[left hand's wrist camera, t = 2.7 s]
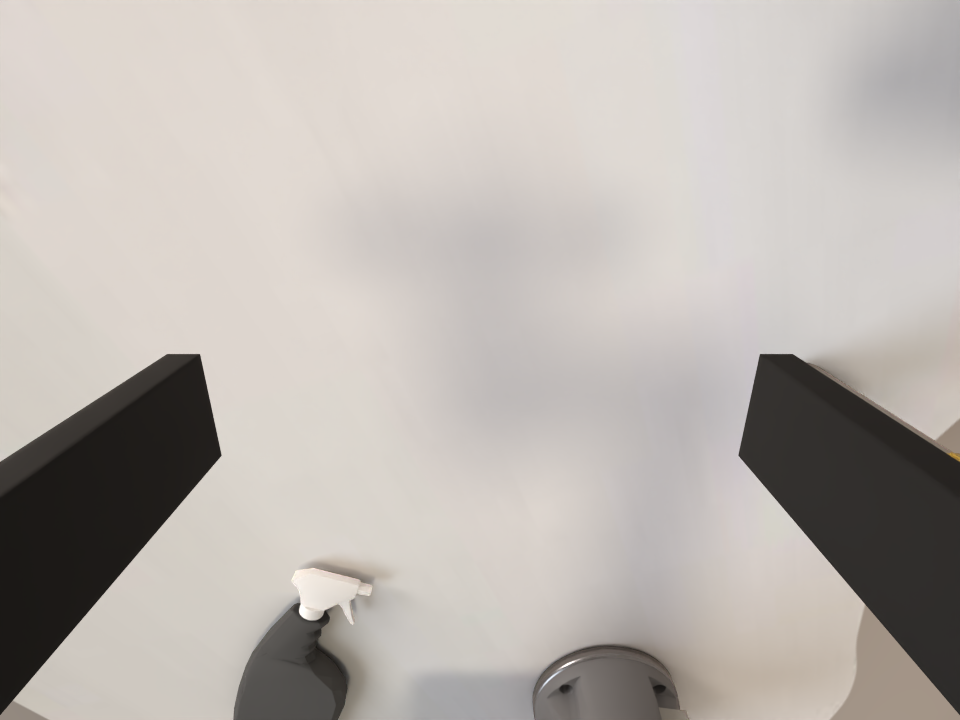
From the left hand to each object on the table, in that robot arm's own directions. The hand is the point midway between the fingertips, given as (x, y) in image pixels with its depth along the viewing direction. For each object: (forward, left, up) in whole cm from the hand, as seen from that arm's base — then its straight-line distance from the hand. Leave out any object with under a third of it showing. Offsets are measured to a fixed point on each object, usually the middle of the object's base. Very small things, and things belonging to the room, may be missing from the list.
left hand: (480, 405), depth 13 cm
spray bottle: (-43, +18, -28) cm, 54 cm away
